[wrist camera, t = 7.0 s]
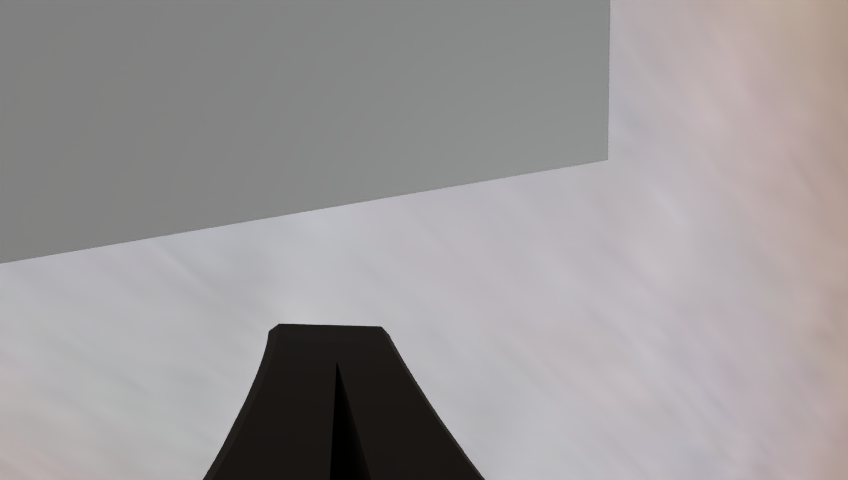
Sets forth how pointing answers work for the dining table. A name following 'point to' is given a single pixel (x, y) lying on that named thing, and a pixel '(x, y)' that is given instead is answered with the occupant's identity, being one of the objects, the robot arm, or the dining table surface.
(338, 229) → the dining table surface
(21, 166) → the grey flat slab
